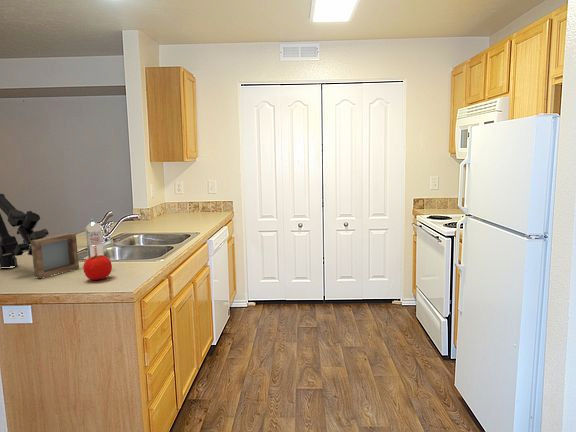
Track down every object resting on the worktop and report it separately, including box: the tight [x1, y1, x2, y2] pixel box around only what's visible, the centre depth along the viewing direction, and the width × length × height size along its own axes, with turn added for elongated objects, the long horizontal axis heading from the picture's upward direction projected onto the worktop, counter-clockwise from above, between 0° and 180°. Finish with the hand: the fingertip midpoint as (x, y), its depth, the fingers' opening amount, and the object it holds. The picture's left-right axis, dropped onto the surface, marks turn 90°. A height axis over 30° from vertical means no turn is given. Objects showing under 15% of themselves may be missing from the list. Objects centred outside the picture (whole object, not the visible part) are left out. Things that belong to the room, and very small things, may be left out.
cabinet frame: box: [31, 232, 80, 279], centre depth 211 cm, size 4×20×18 cm, turn 152°
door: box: [41, 239, 70, 270], centre depth 213 cm, size 3×17×16 cm, turn 153°
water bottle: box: [85, 218, 105, 259], centre depth 213 cm, size 7×7×25 cm
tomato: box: [82, 254, 113, 281], centre depth 198 cm, size 12×12×11 cm
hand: (45, 260), depth 211 cm, fingers closed, pressing on door
